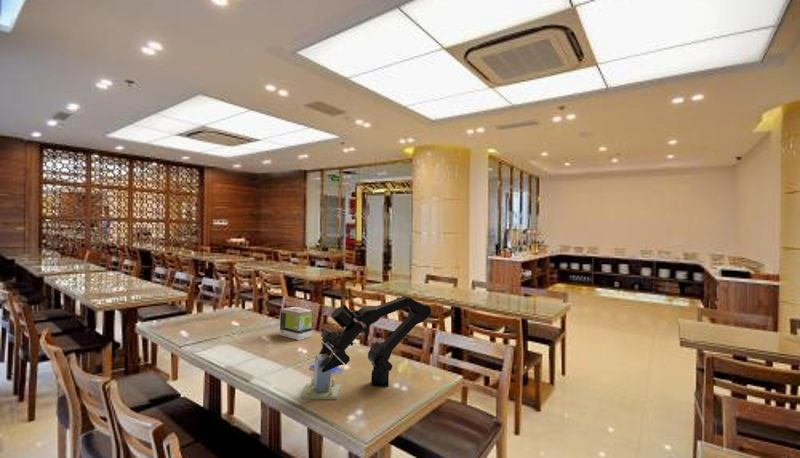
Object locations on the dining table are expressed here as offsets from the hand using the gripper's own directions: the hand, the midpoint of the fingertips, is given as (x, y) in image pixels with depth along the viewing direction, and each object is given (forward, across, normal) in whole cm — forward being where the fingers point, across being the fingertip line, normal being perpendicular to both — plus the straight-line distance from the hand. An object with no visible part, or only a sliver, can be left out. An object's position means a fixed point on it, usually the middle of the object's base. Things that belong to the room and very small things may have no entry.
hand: (318, 367), depth 145 cm
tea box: (+2, -74, +12) cm, 75 cm away
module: (+5, 0, +7) cm, 9 cm away
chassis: (+6, 0, +8) cm, 10 cm away
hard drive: (+1, -21, +14) cm, 25 cm away
